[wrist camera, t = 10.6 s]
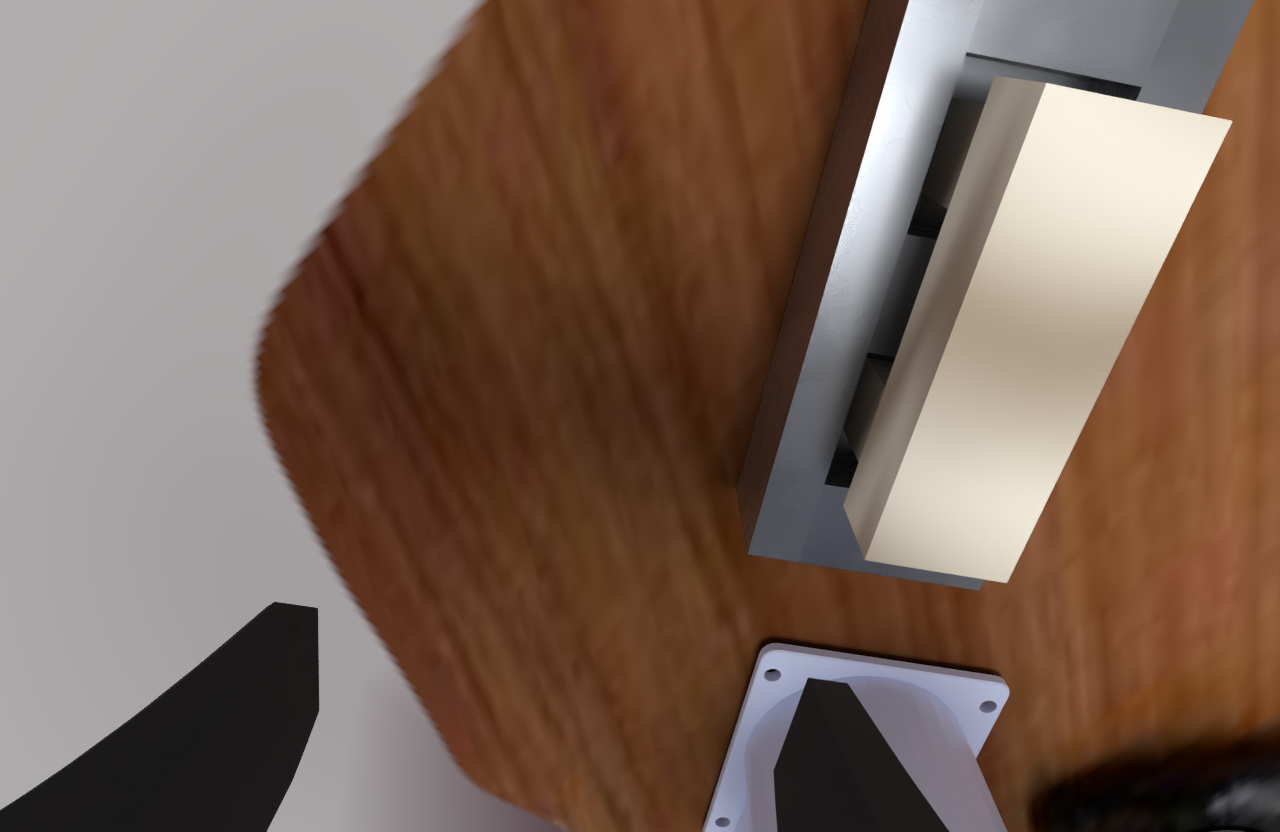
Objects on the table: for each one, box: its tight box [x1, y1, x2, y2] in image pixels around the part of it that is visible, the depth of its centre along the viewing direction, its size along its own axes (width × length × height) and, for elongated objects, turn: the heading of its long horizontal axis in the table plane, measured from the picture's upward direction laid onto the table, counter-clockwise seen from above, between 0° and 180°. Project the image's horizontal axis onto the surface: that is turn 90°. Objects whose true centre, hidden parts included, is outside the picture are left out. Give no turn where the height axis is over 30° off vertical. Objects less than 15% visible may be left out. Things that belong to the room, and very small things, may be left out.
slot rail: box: [736, 0, 1254, 591], centre depth 18 cm, size 14×6×3 cm, turn 170°
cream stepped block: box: [843, 76, 1232, 583], centre depth 16 cm, size 9×3×5 cm, turn 170°
